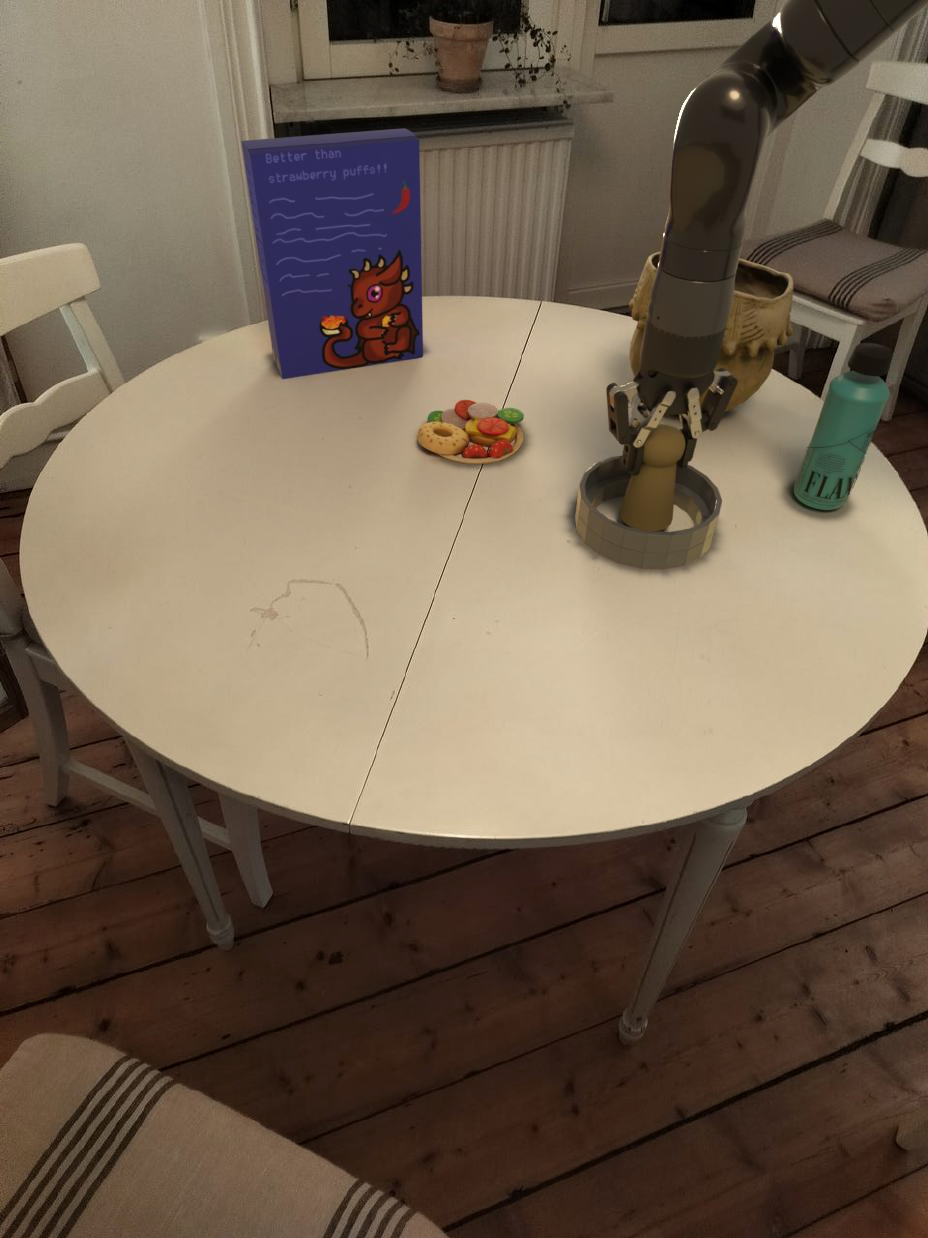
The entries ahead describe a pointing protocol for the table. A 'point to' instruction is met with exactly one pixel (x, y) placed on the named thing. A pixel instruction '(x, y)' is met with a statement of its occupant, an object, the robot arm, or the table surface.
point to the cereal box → (339, 247)
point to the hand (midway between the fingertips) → (655, 467)
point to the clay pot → (735, 324)
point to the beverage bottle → (844, 429)
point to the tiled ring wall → (640, 545)
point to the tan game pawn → (654, 481)
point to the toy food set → (472, 432)
